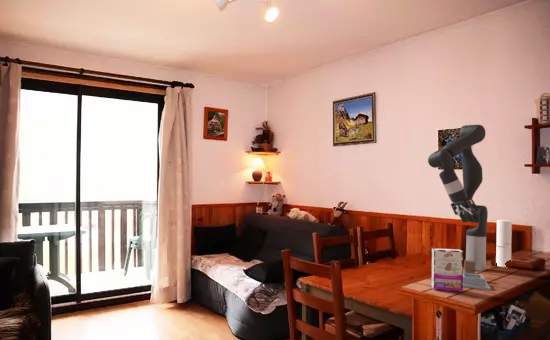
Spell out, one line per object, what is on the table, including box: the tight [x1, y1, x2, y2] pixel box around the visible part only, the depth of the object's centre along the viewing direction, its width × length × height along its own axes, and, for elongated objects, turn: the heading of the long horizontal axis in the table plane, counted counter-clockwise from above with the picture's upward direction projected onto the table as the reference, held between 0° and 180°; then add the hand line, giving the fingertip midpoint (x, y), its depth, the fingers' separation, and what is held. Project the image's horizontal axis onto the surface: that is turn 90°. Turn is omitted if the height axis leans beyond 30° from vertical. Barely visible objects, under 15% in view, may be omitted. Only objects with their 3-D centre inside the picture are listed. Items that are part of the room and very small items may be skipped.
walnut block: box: [463, 259, 476, 274], centre depth 179 cm, size 4×4×8 cm
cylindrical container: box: [495, 219, 513, 268], centre depth 215 cm, size 7×7×25 cm
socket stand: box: [463, 272, 491, 291], centre depth 168 cm, size 12×12×4 cm
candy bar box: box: [431, 247, 464, 293], centre depth 159 cm, size 11×5×16 cm, turn 80°
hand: (471, 221), depth 183 cm, fingers open, 8 cm apart
